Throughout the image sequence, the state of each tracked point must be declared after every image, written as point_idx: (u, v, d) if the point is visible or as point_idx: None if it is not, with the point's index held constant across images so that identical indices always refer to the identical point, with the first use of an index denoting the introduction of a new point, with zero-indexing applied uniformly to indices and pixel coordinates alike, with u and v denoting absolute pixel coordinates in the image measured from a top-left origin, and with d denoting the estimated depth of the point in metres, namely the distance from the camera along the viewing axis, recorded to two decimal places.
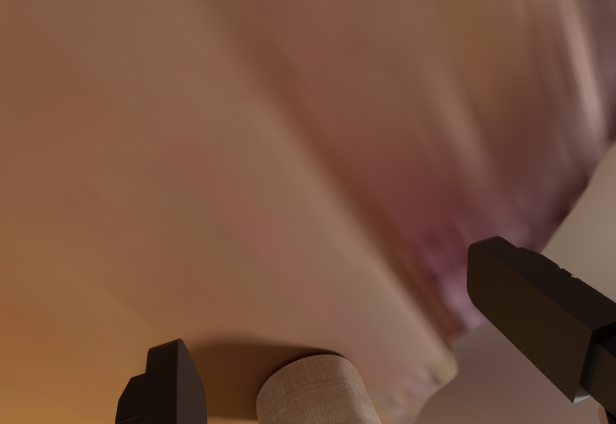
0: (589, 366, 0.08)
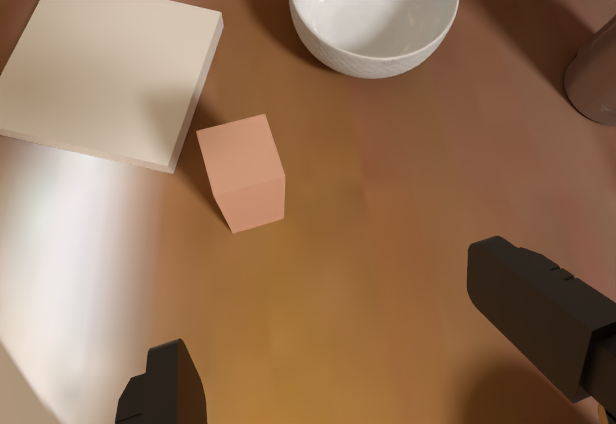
0: (589, 366, 0.08)
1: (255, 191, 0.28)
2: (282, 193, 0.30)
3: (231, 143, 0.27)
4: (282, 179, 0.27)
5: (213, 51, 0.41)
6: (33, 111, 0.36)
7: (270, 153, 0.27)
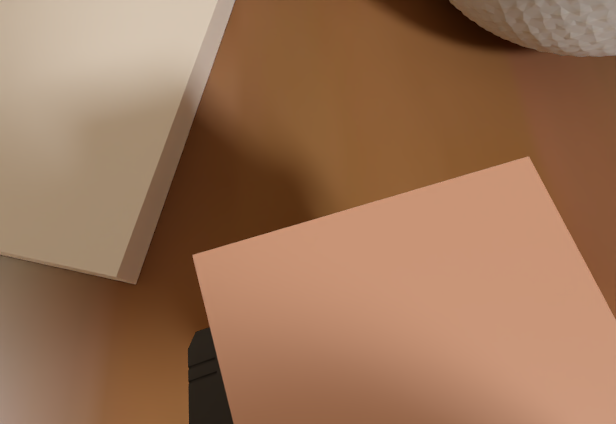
0: None
1: None
2: None
3: (389, 329, 0.05)
4: None
5: (230, 2, 0.19)
6: None
7: (610, 380, 0.05)
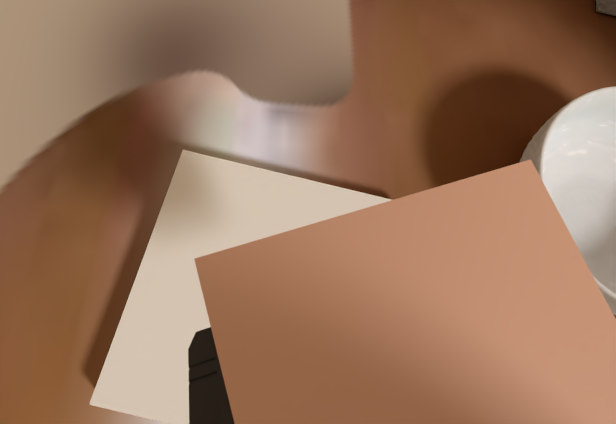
0: None
1: None
2: None
3: (391, 332, 0.05)
4: None
5: None
6: (171, 380, 0.25)
7: (613, 385, 0.05)
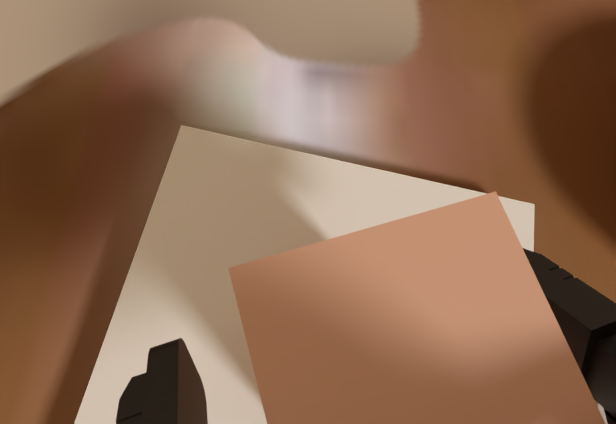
0: (588, 366, 0.08)
1: None
2: None
3: (380, 328, 0.06)
4: None
5: None
6: None
7: (551, 371, 0.06)
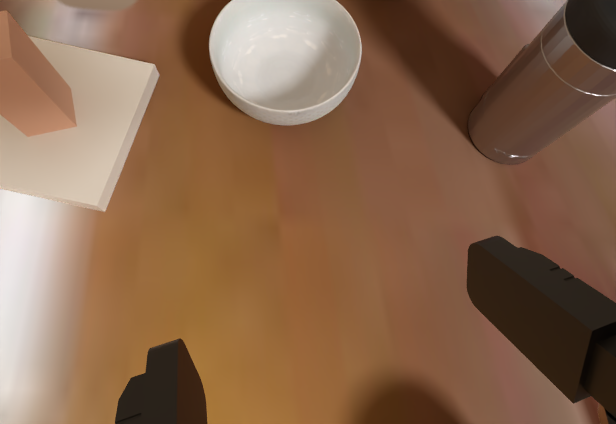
0: (589, 366, 0.08)
1: None
2: (34, 84, 0.35)
3: None
4: (12, 61, 0.32)
5: (147, 99, 0.46)
6: None
7: (3, 39, 0.32)
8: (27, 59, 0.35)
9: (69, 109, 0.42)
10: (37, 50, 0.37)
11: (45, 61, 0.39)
